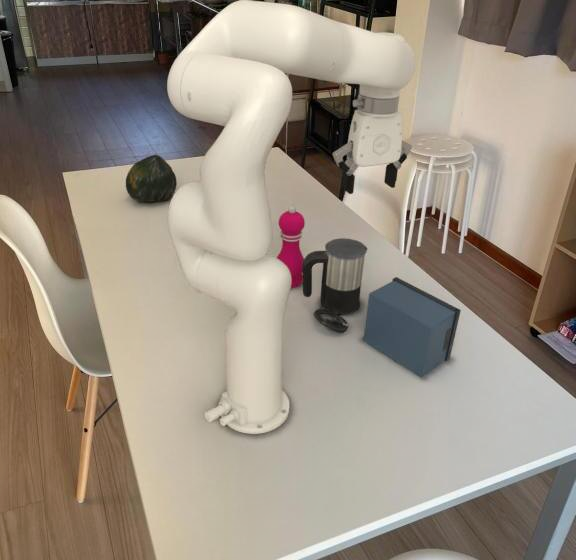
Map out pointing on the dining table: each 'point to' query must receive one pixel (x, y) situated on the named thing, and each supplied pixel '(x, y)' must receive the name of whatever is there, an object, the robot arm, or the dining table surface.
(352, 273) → the milk frother
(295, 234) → the pepper mill
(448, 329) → the blue storage bin
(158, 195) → the squash
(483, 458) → the dining table surface
